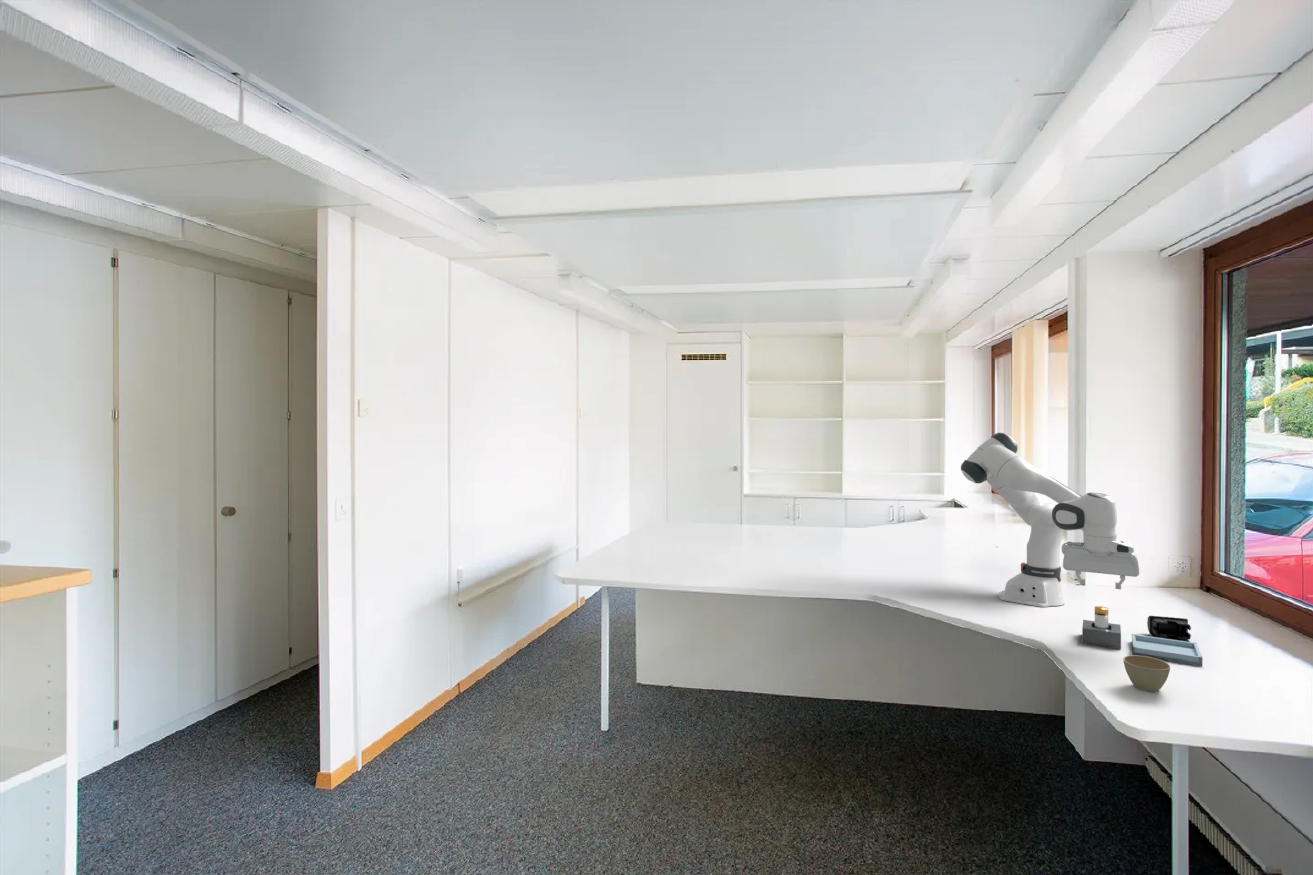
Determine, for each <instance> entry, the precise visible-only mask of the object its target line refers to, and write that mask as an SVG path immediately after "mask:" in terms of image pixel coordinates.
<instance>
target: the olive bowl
mask: <svg viewBox="0 0 1313 875" xmlns="http://www.w3.org/2000/svg"><path fill="white" fill-rule="evenodd" d="M1123 665H1124V669H1125V672H1126V674H1127V677H1128V679H1129V680H1130V682H1131V683H1132V685H1133V686H1134V688H1136V689H1137V690H1140V691H1143V692H1146V693H1157V692H1159V691H1160V690H1161V689H1162V688H1163V687H1164V685H1165V683H1166V682H1167V679H1168V677H1169V674H1170V671H1171V665H1170V664H1169V663H1168V662H1166V661H1165V660H1160V659H1156V658H1152V657H1147V656H1138V655H1133V654H1130V655H1125V656H1124V657H1123Z"/></svg>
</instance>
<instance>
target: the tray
mask: <svg viewBox="0 0 1313 875" xmlns="http://www.w3.org/2000/svg"><path fill="white" fill-rule="evenodd" d="M1131 646H1132V655H1138V656H1147V657H1152V658H1156V659H1159V660H1162V661H1165V662H1166V661H1167V662H1173V663H1174V662H1175V663H1181V664H1186V665H1192V666H1200V667H1202V666H1203V655H1202V652H1201V650H1200V647H1199V646H1198V643H1197V642H1192V641H1190V642H1185V641H1178V640H1171V639H1164V638H1157V637H1152V636H1150V635H1149V636H1148V635H1141V634H1133V633H1132V634H1131Z"/></svg>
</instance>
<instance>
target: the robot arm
mask: <svg viewBox="0 0 1313 875" xmlns="http://www.w3.org/2000/svg"><path fill="white" fill-rule="evenodd" d="M1018 448H1019V447H1018V444H1017V443H1016V441H1015V440H1014V438H1012V437H1011V436H1010V435H1009V434H1006V433H1004V432H997V433H995V434H993V435H992V436H990V438H988V439H987V440H985V441H984V442H982V444H980V445H978V447H976V449H975V450H974V451H973V452H972V453H971V454H970V455H969V456H968V458H966V459H965V460H964V461H963V462H962V463H961V465H960V470H961V472H962V474H963V476H964V478H966V479H967V480H968V481H970V482H971V483H974V484H983V483H984V482H987V483H988V485H989V486H991V487H992V489H994V490H995V491H996V492H997V493H998V495H999V496H1001V497H1002V499H1004V500H1005V501H1006V503H1007V504H1009V506H1010V507H1011V508H1012V509H1013V511H1015V513H1016V514H1017V515H1018V516H1019V517H1020V518H1021V519H1022V520H1023V521H1024V522H1025V523H1026V524H1027V526H1030V527H1031V528H1030V535H1029V539H1028V541H1027V542H1026V562H1024V561H1023V562H1021V563H1020V573H1018V574H1016V575H1015V576H1013V577H1011V578H1009V579H1008V580H1007V582H1006V583H1005V587H1004V590H1002V591H1000V592H999V593H998V599H1000V600H1001V601H1007V602H1010V603H1011V602H1012V603H1017V604H1022V605H1024V604H1025V605H1027V606H1028V605H1029V606H1035V607H1038V608H1039V607H1040V608H1045V607H1046V608H1047V607H1058V606H1063V605H1065V604H1066V602H1065V599H1064V596H1063V593H1062V586H1061V585H1062V584H1061V580H1062V568H1063V569H1064V570H1066V571H1073V572H1075V576H1076V577H1077V578H1078V580H1079V586H1086V578H1083V577H1082V576H1081V574H1082V572H1084V573H1092V574H1102V575H1103V574H1104V575H1114V576H1119V579H1120V580H1119V581H1118V582H1117V581H1116V582H1115V583H1114V584H1115V587H1114V588H1115V589H1116V590H1122V584H1123V583H1124V581H1125V580H1126V577H1131V578H1132V577H1133V578H1134V577H1135V578H1137V577H1138V576H1140V566H1139V559H1138V557H1137V556H1138V555H1136V553H1135V546H1134V545H1133V543H1130V542H1127V541H1124V540H1121V539H1118V534H1117V532H1116V526H1117V523H1118V520H1117V507H1116V502H1115V499H1114V498H1113V497H1112V496H1110V495H1109V494H1105V493H1100V492H1086V493H1085V494H1084V495H1081V494H1079V493H1078V492H1077V491H1075V490H1073V489H1072V488H1070V487H1068V486H1067V485H1065V484H1064V483H1062V482H1060V481H1058V480H1057V479H1055V478H1054V477H1052V476H1050V475H1048V474H1047V473H1045V472H1044V471H1042V470H1040V469H1039V468H1037V467H1035V466H1034V465H1033V464H1031V463H1030V462H1028V461H1027V460H1026V459H1024V458H1023V457H1021V456H1020V455H1019V454H1017V452H1018ZM1041 495H1044V496H1046V497H1047V498H1050V499H1051V500H1053V501H1054V502H1056V503H1057V504H1055V505H1054V504H1051V503H1049V502H1048V501H1047V500H1045V499H1044V498H1043V497H1042V496H1041ZM1064 530H1065V531H1076V530H1081V531H1082V532H1083V535H1082V536H1083V542H1078V541H1077V542H1074V541H1066V542H1065V543H1062V545H1061V542H1062V537H1063V533H1064ZM1060 550H1061V551H1060ZM1060 552H1062V555H1063V560H1062V567H1061V564H1060V563H1061V562H1060V560H1061V559H1060V558H1061V557H1060V556H1061V555H1060V554H1061V553H1060Z"/></svg>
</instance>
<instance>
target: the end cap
mask: <svg viewBox="0 0 1313 875" xmlns="http://www.w3.org/2000/svg"><path fill="white" fill-rule="evenodd" d="M1146 620H1147V625H1146V626H1147V630H1148V633H1149V634H1150V635H1151V636H1150V637H1157V638H1164V639H1171V640H1178V641H1185V642H1191V641H1190V639H1191V637H1192V635H1191V633H1190V632H1189V631H1192V627H1191V625H1190V624H1189V620H1188V618H1184V617H1173V616H1172V617H1171V616H1170V617H1169V616H1160V615H1158V616H1157V615H1148V617H1147V619H1146Z"/></svg>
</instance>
